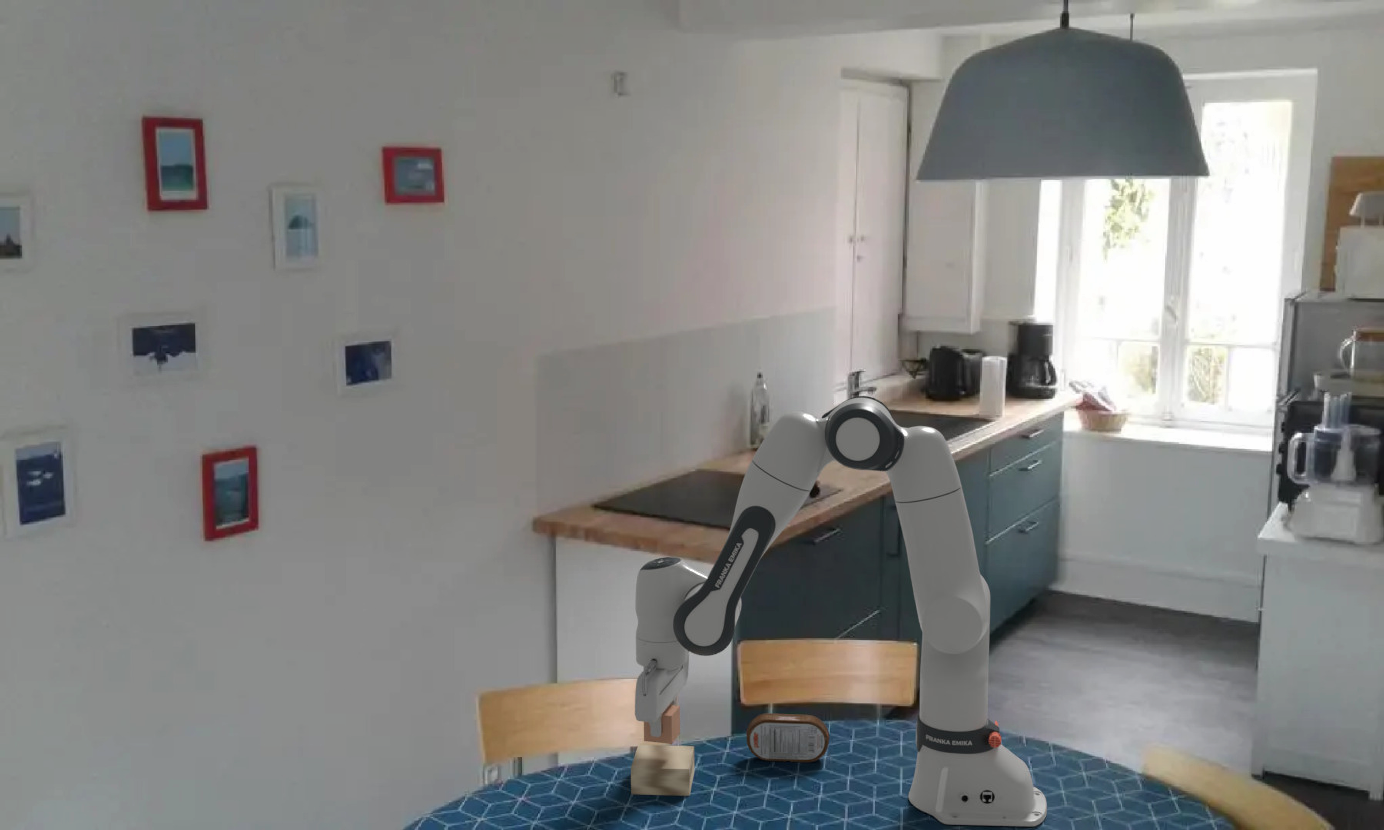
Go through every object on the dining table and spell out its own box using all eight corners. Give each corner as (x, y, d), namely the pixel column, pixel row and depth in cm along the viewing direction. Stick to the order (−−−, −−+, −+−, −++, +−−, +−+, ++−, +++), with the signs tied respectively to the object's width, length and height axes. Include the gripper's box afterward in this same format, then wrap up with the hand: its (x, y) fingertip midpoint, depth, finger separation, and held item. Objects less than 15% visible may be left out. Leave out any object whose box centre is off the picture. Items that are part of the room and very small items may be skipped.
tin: (829, 758, 231) (829, 713, 230) (829, 765, 228) (829, 720, 227) (746, 755, 232) (746, 711, 231) (745, 762, 229) (745, 717, 228)
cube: (679, 733, 221) (679, 705, 221) (671, 744, 217) (671, 716, 216) (652, 730, 223) (652, 703, 222) (644, 741, 218) (643, 713, 217)
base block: (694, 773, 225) (694, 746, 225) (689, 797, 215) (689, 769, 215) (638, 771, 226) (638, 744, 226) (631, 795, 216) (630, 767, 216)
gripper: (661, 672, 207) (662, 753, 209) (694, 635, 226) (695, 709, 228) (624, 669, 209) (625, 749, 210) (661, 632, 228) (661, 706, 230)
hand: (662, 728), depth 219 cm, fingers closed on cube, 5 cm apart
